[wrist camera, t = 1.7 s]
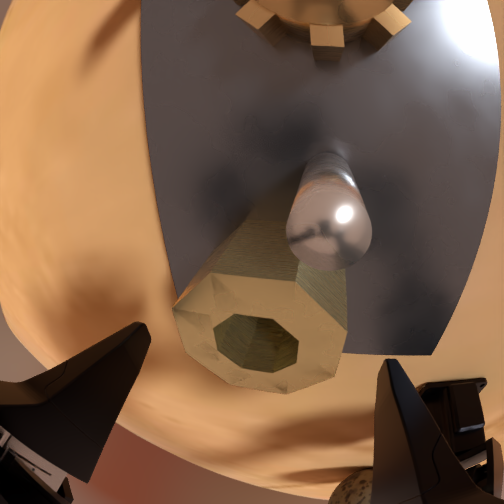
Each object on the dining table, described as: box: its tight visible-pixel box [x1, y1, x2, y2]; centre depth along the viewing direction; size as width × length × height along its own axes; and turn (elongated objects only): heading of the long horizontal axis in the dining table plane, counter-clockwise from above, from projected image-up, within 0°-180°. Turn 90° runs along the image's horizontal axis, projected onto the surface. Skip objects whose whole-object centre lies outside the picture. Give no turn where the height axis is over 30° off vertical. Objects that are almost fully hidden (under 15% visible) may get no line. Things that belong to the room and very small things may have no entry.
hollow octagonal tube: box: [172, 220, 347, 394], centre depth 11 cm, size 6×6×4 cm
